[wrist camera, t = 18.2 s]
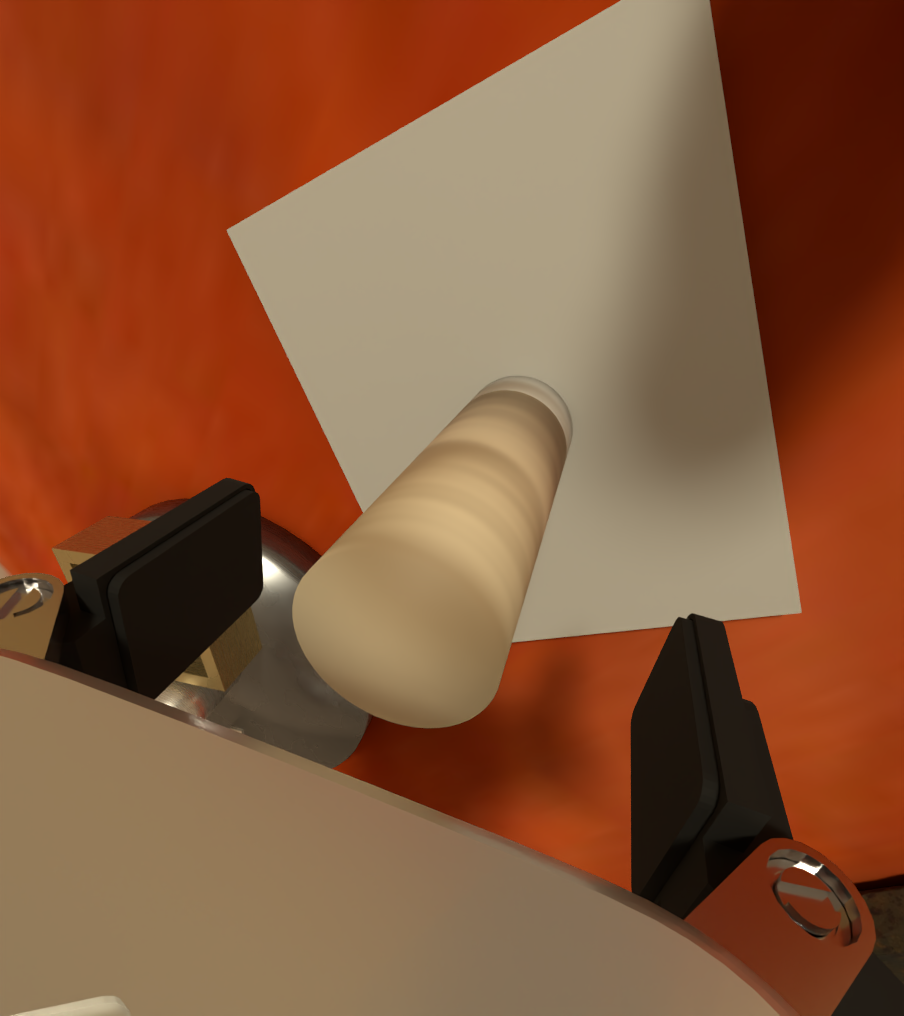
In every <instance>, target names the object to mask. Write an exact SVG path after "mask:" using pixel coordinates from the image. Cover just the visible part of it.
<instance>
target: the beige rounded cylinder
mask: <svg viewBox="0 0 904 1016" xmlns="http://www.w3.org/2000/svg"><path fill="white" fill-rule="evenodd" d="M572 435H573V424H572V418H571V414H570V411H569V409H568V407H567V405H566V403H565V401H564V400H563V398H562V397H561V396H560V395H559V394H558V393H557V392H556V391H555V390H554V389H553V388H552V387H550V386H549V385H548V384H546V383H544V382H542V381H540V380H538V379H535V378H531V377H527V376H508V377H503V378H500V379H497V380H495V381H493V382H491V383H489V384H488V385H486V386H485V387H484V388H483V389H482V390H480V391H479V393H478V394H477V395H476V396H475V397H474V398H473V399H472V400H471V401H470V402H469V403H468V404H467V405H466V406H465V407H464V408H463V409H462V410H461V411H460V412H459V413H458V415H457V416H456V417H455V418H454V419H453V420H452V421H451V422H450V423H449V424H448V425H447V426H446V427H445V428H444V429H443V430H442V431H441V432H440V433H439V434H438V435H437V436H436V438H435V439H434V440H433V441H432V442H431V443H430V444H429V445H428V446H427V447H426V448H425V449H424V450H423V451H422V452H421V453H420V454H419V455H418V456H417V457H416V458H415V460H414V461H413V462H412V463H411V464H410V465H409V466H408V467H407V468H406V469H405V470H404V471H403V472H402V473H401V474H400V475H399V476H398V477H397V478H396V479H395V480H394V481H393V483H392V484H391V485H390V486H389V487H388V488H387V489H386V490H385V491H384V492H383V493H382V494H381V495H380V496H379V497H378V498H377V499H376V500H375V501H374V502H373V503H372V505H371V506H370V507H369V508H368V509H367V510H366V511H365V512H364V513H363V514H362V515H361V516H360V517H359V518H358V519H357V520H356V521H355V522H354V523H353V524H352V525H351V527H350V528H349V529H348V530H347V531H346V532H345V533H344V534H343V535H342V536H341V537H340V538H339V539H338V540H337V541H336V542H335V543H334V544H333V545H332V546H331V547H330V548H329V550H328V551H327V552H326V553H325V554H324V555H323V556H322V557H321V558H320V559H319V560H318V561H317V562H316V563H315V564H314V565H313V566H312V567H311V568H310V569H309V571H308V572H307V573H306V574H305V575H304V576H303V578H302V579H301V581H300V583H299V585H298V586H297V589H296V592H295V595H294V599H293V605H292V618H293V624H294V629H295V633H296V636H297V639H298V642H299V644H300V646H301V649H302V651H303V652H304V654H305V656H306V658H307V659H308V661H309V662H310V664H311V665H312V667H313V668H314V669H315V671H316V672H317V673H318V674H319V675H320V677H321V678H322V679H323V680H324V681H325V682H326V683H327V684H328V685H329V686H330V687H331V688H332V689H333V690H335V691H336V692H337V693H338V694H339V695H341V696H342V697H343V698H345V699H346V700H348V701H349V702H350V703H352V704H353V705H355V706H357V707H358V708H360V709H362V710H364V711H366V712H368V713H370V714H372V715H374V716H376V717H379V718H381V719H384V720H386V721H389V722H393V723H396V724H400V725H405V726H410V727H417V728H442V727H449V726H453V725H457V724H460V723H463V722H465V721H467V720H470V719H471V718H473V717H475V716H476V715H478V714H479V713H480V712H482V711H483V710H484V709H485V708H486V707H487V706H488V705H489V703H490V702H491V701H492V700H493V698H494V696H495V694H496V692H497V690H498V687H499V684H500V680H501V677H502V674H503V670H504V667H505V663H506V660H507V657H508V653H509V650H510V647H511V643H512V640H513V636H514V633H515V630H516V626H517V623H518V620H519V616H520V613H521V609H522V606H523V603H524V599H525V596H526V593H527V589H528V586H529V583H530V579H531V576H532V572H533V569H534V566H535V562H536V559H537V556H538V552H539V549H540V545H541V542H542V539H543V535H544V532H545V529H546V525H547V522H548V519H549V515H550V512H551V508H552V505H553V502H554V498H555V495H556V492H557V488H558V485H559V481H560V478H561V475H562V471H563V468H564V465H565V461H566V458H567V454H568V451H569V448H570V444H571V441H572Z"/></svg>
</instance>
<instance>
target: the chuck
mask: <svg viewBox="0 0 904 1016" xmlns="http://www.w3.org/2000/svg"><path fill="white" fill-rule="evenodd" d="M187 500H189V499H177V500H168V501H164V502H161V503H158V504H155V505H152V506H150V507H148V508H146V509H144V510H143V511H141V512H139V513H137V514H136V515H134V516H132V517H131V518H121V517H113V516H107V517H105V518H104V519H102V520H100V521H98V522H97V523H95V524H93V525H91V526H90V527H88V528H86V529H84V530H83V531H81V532H79V533H77V534H76V535H74V536H72V537H70V538H68V539H67V540H65V541H63V542H61V543H60V544H58V545H56V546H54V547H53V548H52V550H53V552H54V554H55V556H56V559H57V561H58V563H59V565H60V567H61V569H62V571H63V573H64V575H65V577H66V579H67V581H68V583H69V582H71V581H72V577H71V573H70V570H71V569H72V568H74V567H76V566H78V565H79V564H81V563H83V562H84V561H86V560H88V559H89V558H91V557H93V556H94V555H96V554H98V553H99V552H101V551H103V550H105V549H106V548H108V547H110V546H111V545H113V544H115V543H116V542H118V541H120V540H121V539H123V538H125V537H127V536H128V535H130V534H132V533H133V532H135V531H137V530H138V529H140V528H142V527H143V526H145V525H147V524H148V523H150V522H152V521H154V520H155V519H157V518H159V517H160V516H162V515H164V514H165V513H167V512H169V511H170V510H172V509H174V508H175V507H177V506H179V505H181V504H182V503H184V502H186V501H187ZM261 536H262V560H263V590H262V593H261V595H260V597H259V598H258V600H257V601H256V602H255V603H254V604H253V605H252V606H251V607H250V608H249V609H248V610H247V611H246V612H245V613H243V614H242V615H241V616H240V617H239V618H238V619H237V620H236V621H235V622H234V623H233V624H232V625H231V626H230V627H229V628H228V629H227V630H226V631H225V632H224V633H223V634H222V635H221V636H220V637H219V638H218V639H217V640H216V641H215V642H214V643H213V644H212V645H211V646H210V647H209V648H207V649H206V650H205V651H204V652H203V653H202V654H201V655H200V656H199V657H198V658H197V659H196V660H195V661H194V662H193V663H192V664H191V665H190V666H189V667H188V668H187V669H186V670H185V671H184V672H183V673H182V674H181V675H180V676H179V677H178V678H177V679H176V680H175V681H174V682H173V683H171V684H170V685H169V686H168V687H167V688H166V689H165V690H164V691H163V692H162V693H161V694H160V695H159V696H158V697H157V698H156V699H155V700H156V701H159V702H162V703H164V704H167V705H169V706H172V707H175V708H177V709H180V710H182V711H185V712H188V713H190V714H193V715H195V716H198V717H200V718H203V719H206V720H208V721H211V722H213V723H216V724H219V725H221V726H224V727H226V728H229V729H232V730H234V731H237V732H239V733H242V734H244V735H247V736H249V737H252V738H255V739H257V740H260V741H262V742H265V743H267V744H270V745H272V746H275V747H278V748H280V749H283V750H285V751H288V752H290V753H293V754H295V755H298V756H300V757H303V758H306V759H308V760H311V761H313V762H316V763H318V764H321V765H323V766H326V767H328V768H331V769H332V768H334V767H336V766H338V765H339V764H341V763H342V762H343V761H345V760H346V759H347V758H348V757H349V756H350V755H351V754H352V753H353V752H354V751H355V749H356V748H357V746H358V744H359V742H360V740H361V739H362V737H363V735H364V733H365V731H366V729H367V727H368V725H369V723H370V721H371V719H372V717H373V715H372V714H370V713H368V712H366V711H364V710H362V709H360V708H358V707H357V706H355V705H353V704H352V703H350V702H349V701H348V700H346V699H345V698H343V697H342V696H341V695H339V694H338V693H337V692H336V691H335V690H333V689H332V688H331V687H330V686H329V685H328V684H327V683H326V682H325V681H324V680H323V679H322V678H321V677H320V675H319V674H318V673H317V672H316V671H315V669H314V668H313V667H312V665H311V664H310V662H309V661H308V659H307V658H306V656H305V654H304V652H303V651H302V649H301V646H300V644H299V642H298V639H297V636H296V633H295V629H294V624H293V618H292V605H293V599H294V595H295V592H296V589H297V586H298V585H299V583H300V581H301V579H302V578H303V576H304V575H305V574H306V573H307V572H308V571H309V569H310V568H311V567H312V566H313V565H314V564H315V563H316V562H317V561H318V560H319V559H320V558H321V557H322V556H320V555H319V554H318V553H317V552H315V551H314V550H313V549H312V548H311V547H309V546H308V545H307V544H306V543H304V542H303V541H302V540H300V539H299V538H297V537H296V536H294V535H293V534H291V533H290V532H288V531H287V530H285V529H284V528H282V527H280V526H278V525H277V524H275V523H273V522H271V521H269V520H267V519H266V518H264V517H261Z"/></svg>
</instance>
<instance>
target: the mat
mask: <svg viewBox="0 0 904 1016" xmlns="http://www.w3.org/2000/svg"><path fill="white" fill-rule="evenodd" d="M227 232H228V234H229V236H230V238H231V240H232V242H233V244H234V247H235V249H236V251H237V253H238V255H239V257H240V259H241V261H242V263H243V265H244V267H245V269H246V271H247V273H248V275H249V278H250V280H251V282H252V284H253V286H254V288H255V290H256V292H257V294H258V296H259V298H260V300H261V302H262V304H263V307H264V309H265V311H266V313H267V315H268V317H269V319H270V321H271V323H272V325H273V327H274V329H275V331H276V333H277V335H278V338H279V340H280V342H281V344H282V346H283V348H284V350H285V352H286V354H287V356H288V358H289V360H290V362H291V364H292V367H293V369H294V371H295V373H296V375H297V377H298V379H299V381H300V383H301V385H302V387H303V389H304V391H305V393H306V395H307V398H308V400H309V402H310V404H311V406H312V408H313V410H314V412H315V414H316V416H317V418H318V420H319V422H320V424H321V427H322V429H323V431H324V433H325V435H326V437H327V439H328V441H329V443H330V445H331V447H332V449H333V451H334V453H335V455H336V458H337V460H338V462H339V464H340V466H341V468H342V470H343V472H344V474H345V476H346V478H347V480H348V482H349V484H350V487H351V489H352V491H353V493H354V495H355V497H356V499H357V501H358V503H359V505H360V507H361V509H362V511H363V513H364V512H365V511H366V510H367V509H368V508H369V507H370V506H371V505H372V503H373V502H374V501H375V500H376V499H377V498H378V497H379V496H380V495H381V494H382V493H383V492H384V491H385V490H386V489H387V488H388V487H389V486H390V485H391V484H392V483H393V481H394V480H395V479H396V478H397V477H398V476H399V475H400V474H401V473H402V472H403V471H404V470H405V469H406V468H407V467H408V466H409V465H410V464H411V463H412V462H413V461H414V460H415V458H416V457H417V456H418V455H419V454H420V453H421V452H422V451H423V450H424V449H425V448H426V447H427V446H428V445H429V444H430V443H431V442H432V441H433V440H434V439H435V438H436V436H437V435H438V434H439V433H440V432H441V431H442V430H443V429H444V428H445V427H446V426H447V425H448V424H449V423H450V422H451V421H452V420H453V419H454V418H455V417H456V416H457V415H458V413H459V412H460V411H461V410H462V409H463V408H464V407H465V406H466V405H467V404H468V403H469V402H470V401H471V400H472V399H473V398H474V397H475V396H476V395H477V394H478V393H479V391H480V390H482V389H483V388H484V387H485V386H486V385H488V384H489V383H491V382H493V381H495V380H497V379H500V378H503V377H508V376H527V377H531V378H535V379H538V380H540V381H542V382H544V383H546V384H548V385H549V386H550V387H552V388H553V389H554V390H555V391H556V392H557V393H558V394H559V395H560V396H561V397H562V398H563V400H564V401H565V403H566V405H567V407H568V409H569V411H570V414H571V418H572V424H573V435H572V441H571V444H570V448H569V451H568V454H567V458H566V461H565V465H564V468H563V471H562V475H561V478H560V481H559V485H558V488H557V492H556V495H555V498H554V502H553V505H552V508H551V512H550V515H549V519H548V522H547V525H546V529H545V532H544V535H543V539H542V542H541V545H540V549H539V552H538V556H537V559H536V562H535V566H534V569H533V572H532V576H531V579H530V583H529V586H528V589H527V593H526V596H525V599H524V603H523V606H522V609H521V613H520V616H519V620H518V623H517V626H516V630H515V633H514V636H513V640H512V642H520V641H530V640H540V639H550V638H560V637H569V636H579V635H589V634H599V633H609V632H618V631H628V630H638V629H648V628H658V627H667V626H673V625H674V623H675V621H676V619H677V618H678V617H682V618H685V619H686V618H687V617H688V616H689V614H691V613H694V614H698V615H701V616H704V617H708V618H711V619H715V620H718V621H726V620H736V619H746V618H756V617H765V616H775V615H785V614H795V613H802V612H801V605H800V598H799V592H798V585H797V578H796V572H795V565H794V558H793V552H792V545H791V538H790V532H789V525H788V519H787V512H786V505H785V499H784V492H783V485H782V479H781V472H780V465H779V459H778V452H777V445H776V439H775V432H774V425H773V419H772V412H771V406H770V399H769V392H768V386H767V379H766V372H765V366H764V359H763V352H762V346H761V339H760V332H759V326H758V319H757V313H756V306H755V299H754V293H753V286H752V279H751V273H750V266H749V259H748V253H747V246H746V239H745V233H744V226H743V219H742V213H741V206H740V200H739V193H738V186H737V180H736V173H735V166H734V160H733V153H732V146H731V140H730V133H729V126H728V120H727V113H726V107H725V100H724V93H723V87H722V80H721V73H720V67H719V60H718V53H717V47H716V40H715V33H714V27H713V20H712V13H711V7H710V0H621V1H619V2H618V3H616V4H614V5H613V6H611V7H609V8H607V9H606V10H604V11H602V12H600V13H599V14H597V15H595V16H594V17H592V18H590V19H588V20H587V21H585V22H583V23H582V24H580V25H578V26H576V27H575V28H573V29H571V30H570V31H568V32H566V33H564V34H563V35H561V36H559V37H558V38H556V39H554V40H552V41H551V42H549V43H547V44H545V45H544V46H542V47H540V48H539V49H537V50H535V51H533V52H532V53H530V54H528V55H527V56H525V57H523V58H521V59H520V60H518V61H516V62H515V63H513V64H511V65H509V66H508V67H506V68H504V69H503V70H501V71H499V72H497V73H496V74H494V75H492V76H490V77H489V78H487V79H485V80H484V81H482V82H480V83H478V84H477V85H475V86H473V87H472V88H470V89H468V90H466V91H465V92H463V93H461V94H460V95H458V96H456V97H454V98H453V99H451V100H449V101H448V102H446V103H444V104H442V105H441V106H439V107H437V108H436V109H434V110H432V111H430V112H429V113H427V114H425V115H423V116H422V117H420V118H418V119H417V120H415V121H413V122H411V123H410V124H408V125H406V126H405V127H403V128H401V129H399V130H398V131H396V132H394V133H393V134H391V135H389V136H387V137H386V138H384V139H382V140H381V141H379V142H377V143H375V144H374V145H372V146H370V147H368V148H367V149H365V150H363V151H362V152H360V153H358V154H356V155H355V156H353V157H351V158H350V159H348V160H346V161H344V162H343V163H341V164H339V165H338V166H336V167H334V168H332V169H331V170H329V171H327V172H326V173H324V174H322V175H320V176H319V177H317V178H315V179H313V180H312V181H310V182H308V183H307V184H305V185H303V186H301V187H300V188H298V189H296V190H295V191H293V192H291V193H289V194H288V195H286V196H284V197H283V198H281V199H279V200H277V201H276V202H274V203H272V204H271V205H269V206H267V207H265V208H264V209H262V210H260V211H259V212H257V213H255V214H253V215H252V216H250V217H248V218H246V219H245V220H243V221H241V222H240V223H238V224H236V225H234V226H233V227H231V228H229V229H228V230H227Z"/></svg>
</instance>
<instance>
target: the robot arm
mask: <svg viewBox="0 0 904 1016" xmlns="http://www.w3.org/2000/svg"><path fill="white" fill-rule="evenodd" d="M70 573H71V577H72V581H71V582H69V583H67V584H66V585H63V583H62V582H61V581H60V580H59V579H58V578H56V577H54V576H52V575H48V574H42V573H24V574H19V575H13V576H8V577H5V578H2V579H0V1016H904V984H903V983H902V982H901V981H900V980H899V979H898V978H897V977H896V976H895V975H894V974H893V973H892V971H891V970H890V969H889V968H888V967H887V966H886V965H885V964H884V963H883V962H882V961H881V960H880V959H879V958H878V957H877V956H876V955H875V953H874V952H873V948H874V944H875V941H876V934H875V927H874V921H873V918H872V916H871V914H870V911H869V909H868V907H867V904H866V902H865V900H864V899H863V897H862V896H861V894H860V893H859V891H858V890H857V889H856V887H855V886H854V884H853V883H852V882H851V880H850V879H849V878H848V877H847V876H846V875H845V874H844V873H843V872H842V871H841V870H840V869H839V868H838V867H837V866H836V865H835V864H834V863H833V862H831V861H830V860H829V859H827V858H826V857H825V856H824V855H822V854H821V853H820V852H818V851H816V850H815V849H813V848H811V847H809V846H807V845H805V844H803V843H801V842H798V841H794V840H793V837H792V833H791V830H790V826H789V823H788V819H787V815H786V812H785V808H784V804H783V801H782V797H781V793H780V790H779V786H778V782H777V779H776V775H775V771H774V768H773V764H772V761H771V757H770V753H769V750H768V746H767V742H766V739H765V735H764V731H763V728H762V724H761V720H760V717H759V713H758V711H757V708H756V706H755V705H754V704H753V703H752V702H751V701H748V700H745V699H742V695H741V691H740V687H739V683H738V679H737V675H736V671H735V667H734V663H733V659H732V655H731V651H730V647H729V643H728V639H727V635H726V631H725V627H724V624H723V622H721V621H718V620H715V619H711V618H708V617H704V616H701V615H698V614H694V613H691V614H689V616H688V617H687V618H686V619H685V618H682V617H678V618H677V619H676V621H675V623H674V625H673V627H672V629H671V631H670V633H669V635H668V637H667V640H666V642H665V644H664V646H663V648H662V650H661V652H660V655H659V657H658V659H657V661H656V663H655V665H654V667H653V669H652V672H651V674H650V676H649V678H648V680H647V682H646V684H645V687H644V689H643V691H642V693H641V695H640V697H639V699H638V702H637V704H636V706H635V708H634V711H633V714H632V719H631V886H632V892H630V891H628V890H625V889H623V888H621V887H619V886H617V885H615V884H613V883H611V882H608V881H606V880H604V879H602V878H600V877H598V876H595V875H593V874H591V873H588V872H586V871H583V870H581V869H579V868H576V867H574V866H571V865H569V864H567V863H564V862H562V861H559V860H557V859H555V858H552V857H550V856H548V855H545V854H543V853H540V852H538V851H536V850H533V849H531V848H528V847H526V846H524V845H521V844H519V843H516V842H514V841H512V840H509V839H507V838H504V837H502V836H499V835H497V834H494V833H492V832H489V831H487V830H484V829H482V828H479V827H477V826H474V825H472V824H469V823H467V822H464V821H462V820H459V819H457V818H454V817H452V816H449V815H447V814H444V813H442V812H439V811H437V810H434V809H432V808H429V807H427V806H424V805H422V804H419V803H417V802H414V801H412V800H409V799H407V798H404V797H402V796H399V795H397V794H394V793H392V792H389V791H387V790H384V789H382V788H379V787H377V786H374V785H372V784H369V783H367V782H364V781H361V780H359V779H356V778H354V777H351V776H349V775H346V774H344V773H341V772H339V771H336V770H333V769H331V768H328V767H326V766H323V765H321V764H318V763H316V762H313V761H311V760H308V759H306V758H303V757H300V756H298V755H295V754H293V753H290V752H288V751H285V750H283V749H280V748H278V747H275V746H272V745H270V744H267V743H265V742H262V741H260V740H257V739H255V738H252V737H249V736H247V735H244V734H242V733H239V732H237V731H234V730H232V729H229V728H226V727H224V726H221V725H219V724H216V723H213V722H211V721H208V720H206V719H203V718H200V717H198V716H195V715H193V714H190V713H188V712H185V711H182V710H180V709H177V708H175V707H172V706H169V705H167V704H164V703H162V702H159V701H156V700H155V699H156V698H157V697H158V696H159V695H160V694H161V693H162V692H163V691H164V690H165V689H166V688H167V687H168V686H169V685H170V684H171V683H173V682H174V681H175V680H176V679H177V678H178V677H179V676H180V675H181V674H182V673H183V672H184V671H185V670H186V669H187V668H188V667H189V666H190V665H191V664H192V663H193V662H194V661H195V660H196V659H197V658H198V657H199V656H200V655H201V654H202V653H203V652H204V651H205V650H206V649H207V648H209V647H210V646H211V645H212V644H213V643H214V642H215V641H216V640H217V639H218V638H219V637H220V636H221V635H222V634H223V633H224V632H225V631H226V630H227V629H228V628H229V627H230V626H231V625H232V624H233V623H234V622H235V621H236V620H237V619H238V618H239V617H240V616H241V615H242V614H243V613H245V612H246V611H247V610H248V609H249V608H250V607H251V606H252V605H253V604H254V603H255V602H256V601H257V600H258V598H259V597H260V595H261V593H262V590H263V560H262V536H261V512H260V497H259V495H258V493H256V492H255V489H254V487H253V486H252V485H251V484H248V483H244V482H241V481H238V480H234V479H231V478H225V479H223V480H221V481H219V482H218V483H216V484H214V485H213V486H211V487H209V488H208V489H206V490H204V491H202V492H201V493H199V494H197V495H196V496H194V497H192V498H191V499H189V500H187V501H186V502H184V503H182V504H181V505H179V506H177V507H175V508H174V509H172V510H170V511H169V512H167V513H165V514H164V515H162V516H160V517H159V518H157V519H155V520H154V521H152V522H150V523H148V524H147V525H145V526H143V527H142V528H140V529H138V530H137V531H135V532H133V533H132V534H130V535H128V536H127V537H125V538H123V539H121V540H120V541H118V542H116V543H115V544H113V545H111V546H110V547H108V548H106V549H105V550H103V551H101V552H99V553H98V554H96V555H94V556H93V557H91V558H89V559H88V560H86V561H84V562H83V563H81V564H79V565H78V566H76V567H74V568H72V569H71V570H70Z"/></svg>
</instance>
